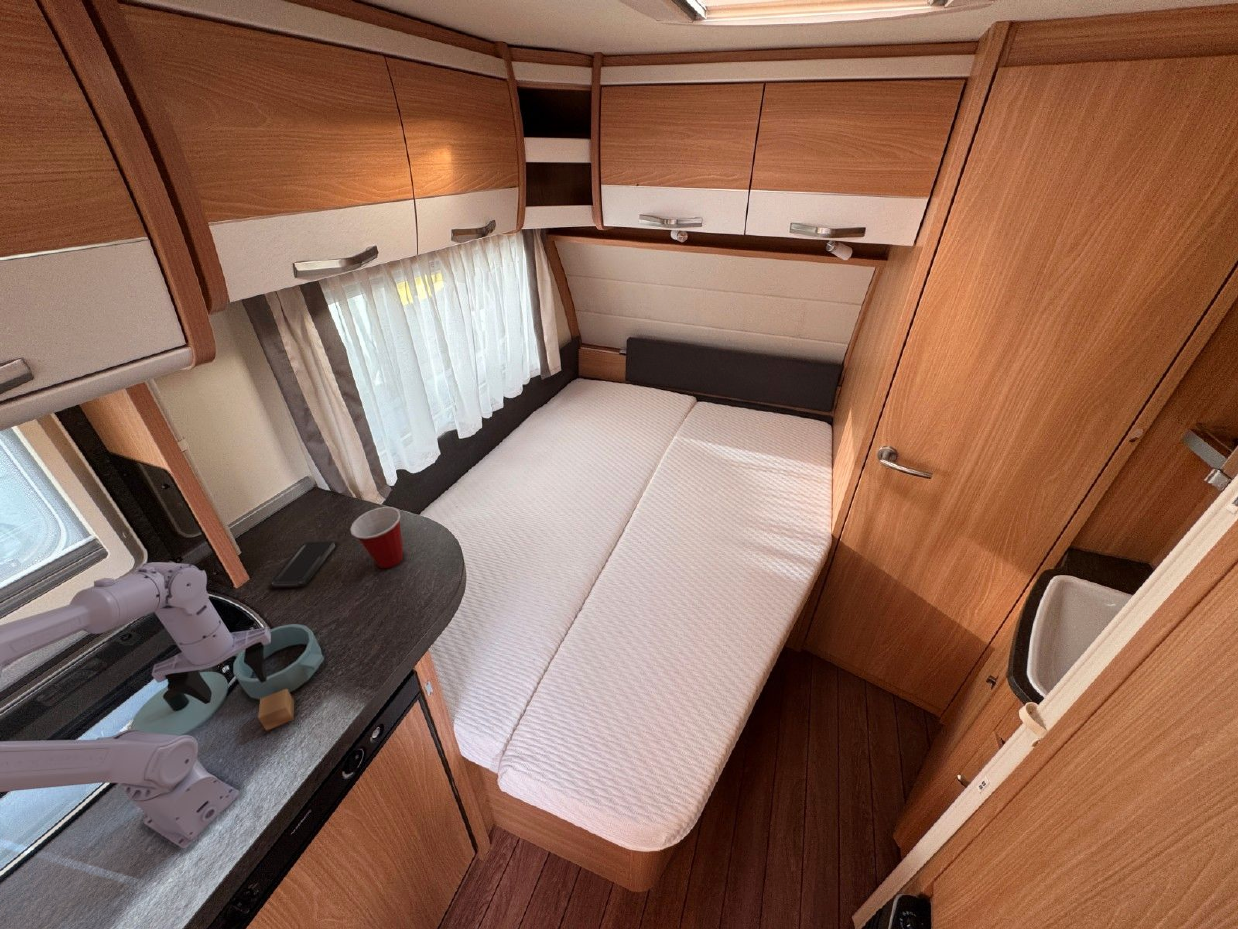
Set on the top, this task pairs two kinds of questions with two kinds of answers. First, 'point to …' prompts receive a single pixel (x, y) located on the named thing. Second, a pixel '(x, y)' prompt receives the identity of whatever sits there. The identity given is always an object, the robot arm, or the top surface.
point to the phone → (303, 564)
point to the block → (276, 709)
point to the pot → (291, 674)
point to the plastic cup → (380, 535)
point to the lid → (180, 709)
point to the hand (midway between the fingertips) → (236, 687)
